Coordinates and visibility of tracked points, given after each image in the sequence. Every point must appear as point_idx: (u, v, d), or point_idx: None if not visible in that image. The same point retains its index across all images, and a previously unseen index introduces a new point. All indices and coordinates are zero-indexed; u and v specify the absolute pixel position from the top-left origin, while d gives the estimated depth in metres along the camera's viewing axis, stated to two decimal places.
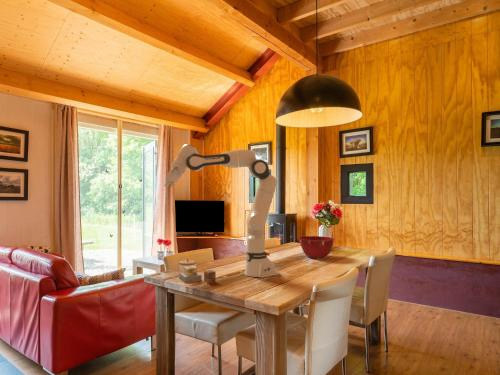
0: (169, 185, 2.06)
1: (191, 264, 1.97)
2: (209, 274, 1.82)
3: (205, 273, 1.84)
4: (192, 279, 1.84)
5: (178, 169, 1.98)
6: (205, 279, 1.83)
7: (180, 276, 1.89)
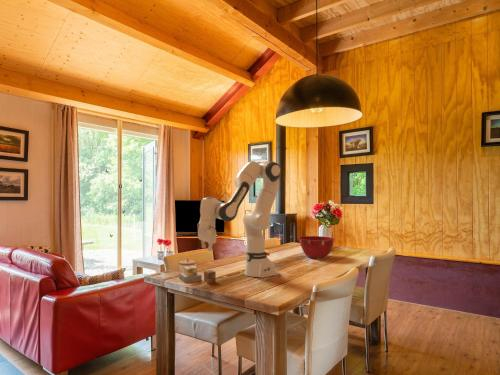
0: (203, 246, 1.88)
1: (191, 264, 1.97)
2: (209, 274, 1.82)
3: (205, 273, 1.84)
4: (192, 279, 1.84)
5: None
6: (205, 279, 1.83)
7: (180, 276, 1.89)
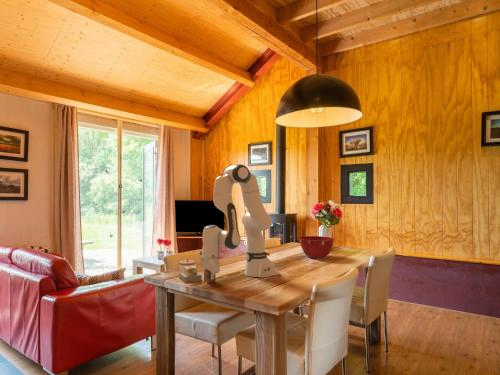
0: None
1: (191, 264, 1.97)
2: (209, 274, 1.82)
3: (205, 273, 1.84)
4: (192, 279, 1.84)
5: (215, 256, 1.82)
6: (205, 279, 1.83)
7: (180, 276, 1.89)
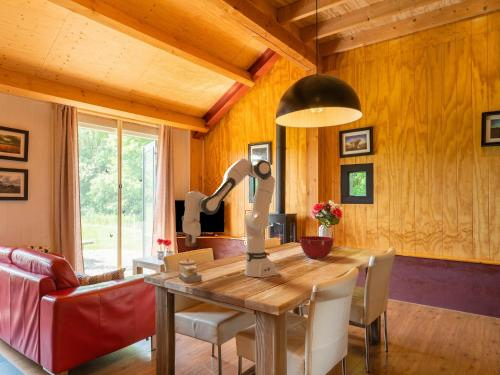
0: None
1: (191, 264, 1.97)
2: (190, 237, 1.86)
3: (186, 237, 1.88)
4: (192, 279, 1.84)
5: (196, 220, 1.86)
6: (186, 243, 1.88)
7: (180, 276, 1.89)
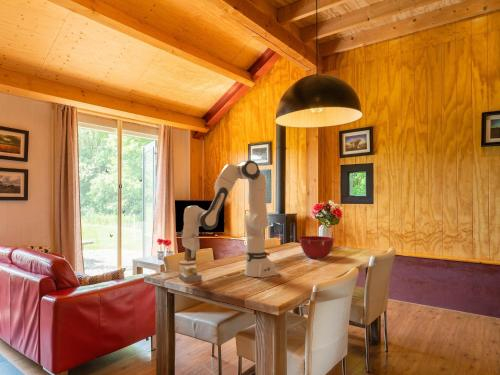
0: None
1: (191, 264, 1.97)
2: (189, 252, 1.86)
3: (186, 251, 1.88)
4: (192, 279, 1.84)
5: (195, 235, 1.87)
6: (185, 257, 1.88)
7: (180, 276, 1.89)
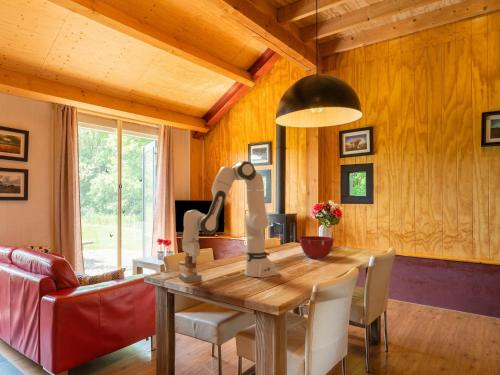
0: None
1: None
2: (189, 259, 1.86)
3: (186, 259, 1.88)
4: (192, 279, 1.84)
5: None
6: (186, 264, 1.88)
7: (180, 276, 1.89)
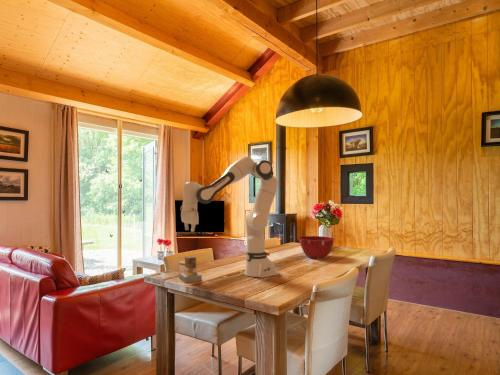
0: (187, 228, 1.99)
1: None
2: (189, 259, 1.86)
3: (186, 259, 1.88)
4: (192, 279, 1.84)
5: None
6: (186, 264, 1.88)
7: (180, 276, 1.89)
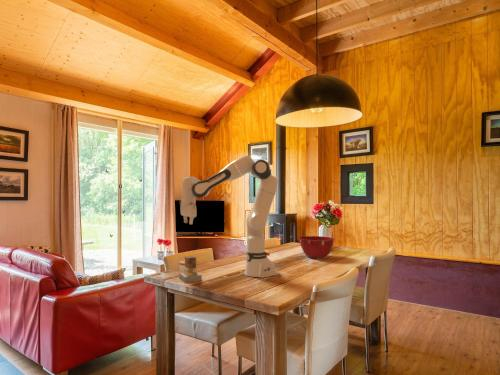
0: (186, 221, 2.09)
1: None
2: (189, 259, 1.86)
3: (186, 259, 1.88)
4: (192, 279, 1.84)
5: None
6: (186, 264, 1.88)
7: (180, 276, 1.89)
